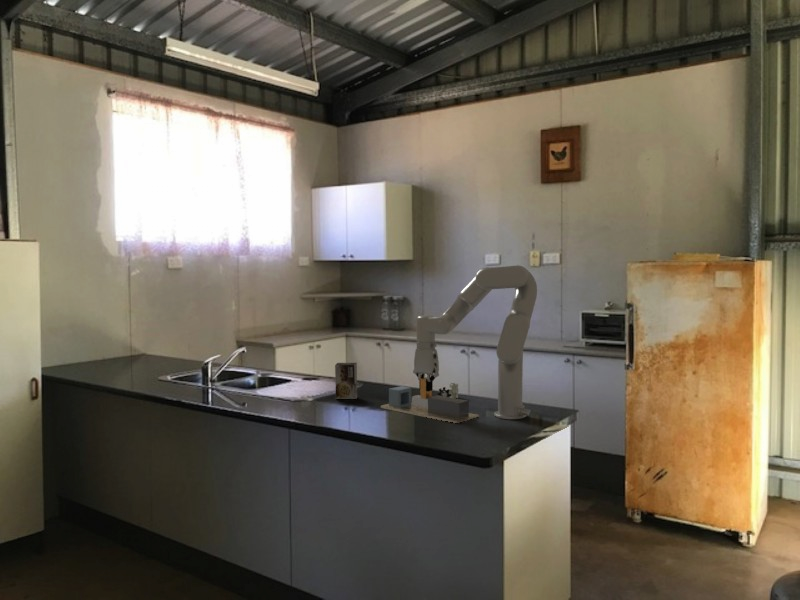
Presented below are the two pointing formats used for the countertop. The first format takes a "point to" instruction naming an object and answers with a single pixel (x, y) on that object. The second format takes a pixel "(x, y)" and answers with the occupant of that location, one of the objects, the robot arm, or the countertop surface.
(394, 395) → the socket block
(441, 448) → the countertop surface
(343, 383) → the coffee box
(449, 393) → the valve
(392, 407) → the stand
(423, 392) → the sliding bar with handle
